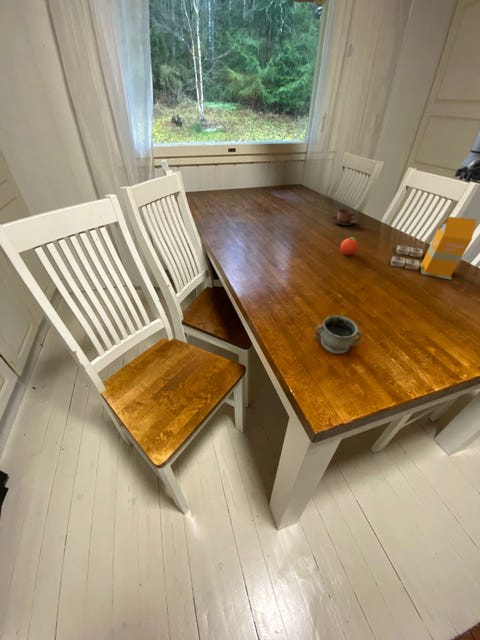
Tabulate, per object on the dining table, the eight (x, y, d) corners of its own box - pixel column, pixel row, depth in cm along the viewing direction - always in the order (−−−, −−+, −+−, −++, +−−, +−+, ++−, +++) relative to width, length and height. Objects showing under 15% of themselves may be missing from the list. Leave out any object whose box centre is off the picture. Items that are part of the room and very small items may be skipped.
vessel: (356, 336, 76) (363, 318, 72) (359, 359, 69) (367, 341, 65) (312, 329, 78) (316, 311, 74) (311, 350, 71) (316, 332, 67)
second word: (448, 268, 108) (450, 263, 106) (451, 279, 100) (454, 274, 99) (391, 257, 114) (393, 253, 113) (390, 268, 107) (392, 263, 106)
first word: (420, 253, 118) (422, 248, 116) (421, 257, 115) (423, 253, 113) (396, 249, 121) (398, 244, 119) (396, 253, 118) (398, 248, 116)
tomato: (341, 248, 121) (345, 232, 116) (357, 252, 118) (362, 236, 114) (337, 255, 115) (341, 239, 111) (354, 259, 113) (359, 242, 108)
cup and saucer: (352, 220, 150) (355, 208, 146) (356, 227, 141) (360, 215, 137) (330, 218, 151) (333, 207, 147) (332, 226, 142) (335, 214, 138)
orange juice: (450, 277, 101) (481, 223, 89) (424, 273, 104) (450, 220, 91) (445, 267, 107) (473, 216, 95) (420, 264, 109) (445, 213, 97)
